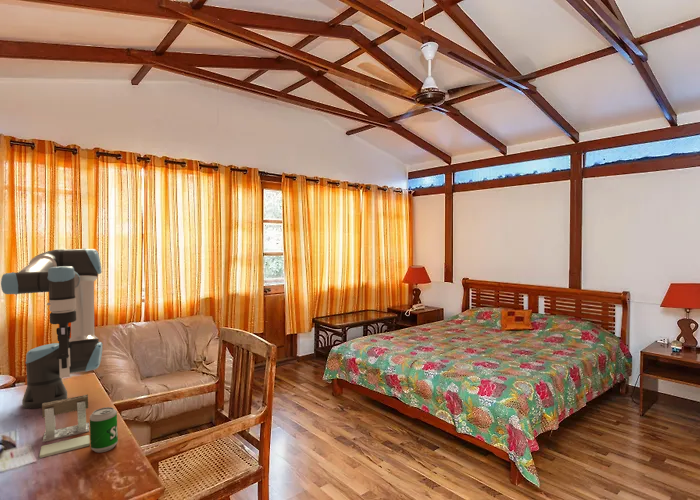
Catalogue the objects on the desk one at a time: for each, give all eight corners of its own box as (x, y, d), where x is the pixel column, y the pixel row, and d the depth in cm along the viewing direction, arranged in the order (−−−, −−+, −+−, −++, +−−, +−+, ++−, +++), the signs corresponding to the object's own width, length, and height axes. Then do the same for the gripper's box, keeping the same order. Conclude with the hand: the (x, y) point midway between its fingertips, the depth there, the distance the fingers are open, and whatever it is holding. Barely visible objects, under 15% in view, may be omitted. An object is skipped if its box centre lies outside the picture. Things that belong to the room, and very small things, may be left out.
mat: (41, 448, 131) (41, 446, 131) (89, 437, 138) (89, 434, 138) (39, 458, 125) (39, 455, 125) (89, 445, 132) (89, 443, 132)
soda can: (105, 454, 126) (103, 416, 126) (84, 452, 128) (83, 415, 127) (123, 442, 133) (122, 406, 133) (103, 441, 135) (102, 405, 135)
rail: (42, 417, 136) (41, 405, 136) (43, 414, 139) (42, 403, 139) (88, 408, 144) (87, 397, 143) (88, 405, 146) (87, 394, 146)
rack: (44, 434, 141) (43, 404, 140) (89, 423, 148) (87, 395, 148) (42, 442, 135) (41, 411, 135) (89, 431, 142) (88, 401, 142)
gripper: (51, 307, 148) (53, 364, 149) (47, 318, 128) (49, 384, 128) (76, 305, 153) (78, 360, 153) (75, 315, 132) (78, 379, 133)
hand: (65, 371), depth 141 cm, fingers open, 13 cm apart
